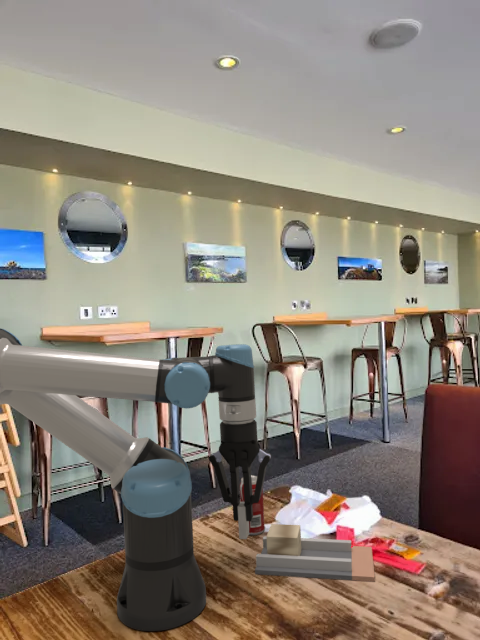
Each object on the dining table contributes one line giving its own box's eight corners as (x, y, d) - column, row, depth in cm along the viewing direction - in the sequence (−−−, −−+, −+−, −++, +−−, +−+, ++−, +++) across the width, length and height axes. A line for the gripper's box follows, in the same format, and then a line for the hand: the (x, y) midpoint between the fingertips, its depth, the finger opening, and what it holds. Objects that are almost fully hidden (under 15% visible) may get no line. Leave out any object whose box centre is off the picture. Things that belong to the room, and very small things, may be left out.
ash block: (267, 562, 96) (266, 536, 96) (272, 548, 102) (271, 523, 102) (298, 564, 94) (297, 538, 94) (301, 549, 100) (300, 525, 100)
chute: (255, 574, 93) (254, 560, 93) (265, 545, 105) (264, 533, 105) (374, 581, 88) (374, 567, 88) (371, 550, 100) (371, 538, 100)
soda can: (243, 526, 116) (241, 475, 116) (265, 526, 115) (263, 475, 115) (240, 535, 110) (237, 482, 110) (263, 535, 110) (260, 482, 110)
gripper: (202, 424, 98) (208, 543, 98) (266, 423, 95) (273, 546, 95) (212, 417, 105) (218, 527, 105) (272, 416, 102) (278, 529, 102)
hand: (244, 536), depth 100 cm, fingers closed
